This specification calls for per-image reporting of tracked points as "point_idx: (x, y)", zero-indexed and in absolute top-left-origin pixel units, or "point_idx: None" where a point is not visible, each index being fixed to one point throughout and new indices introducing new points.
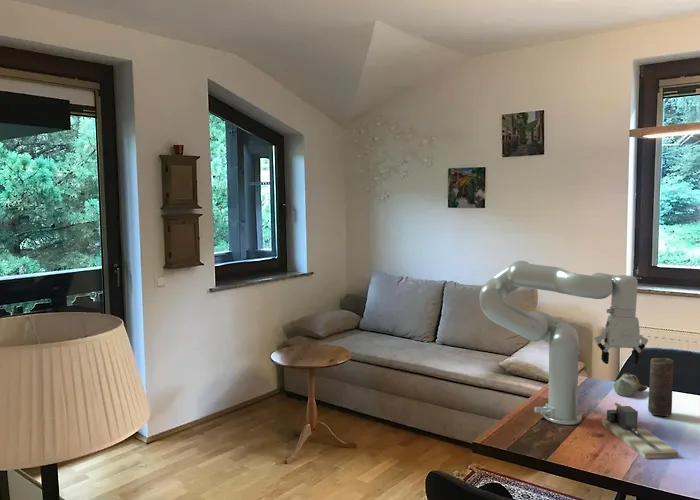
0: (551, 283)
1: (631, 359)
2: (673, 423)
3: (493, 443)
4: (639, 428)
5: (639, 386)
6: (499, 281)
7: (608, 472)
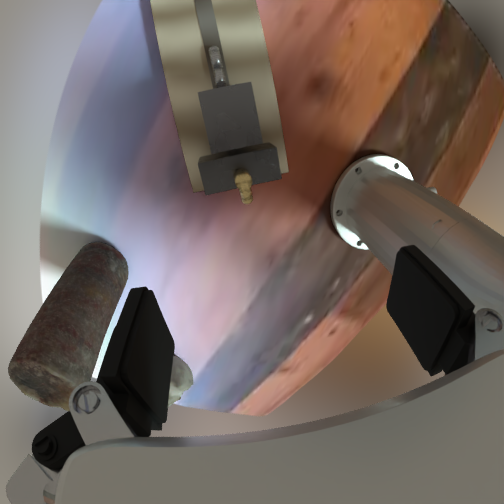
0: None
1: (171, 354)
2: (80, 207)
3: (499, 85)
4: (189, 110)
5: None
6: None
7: None
